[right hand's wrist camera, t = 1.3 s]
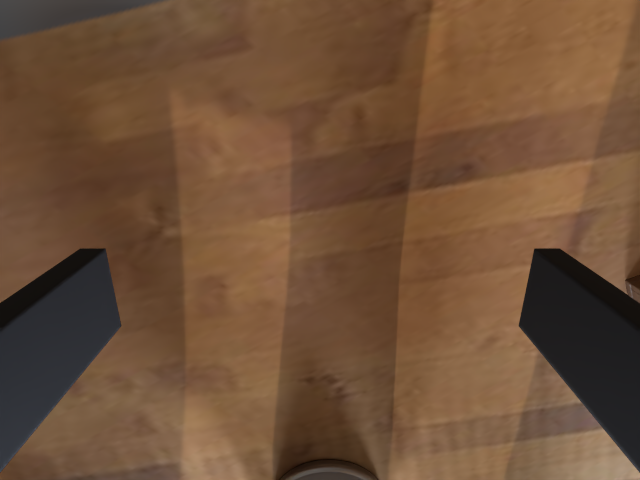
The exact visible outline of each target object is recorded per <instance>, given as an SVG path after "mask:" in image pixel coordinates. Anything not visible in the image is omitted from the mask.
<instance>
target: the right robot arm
mask: <svg viewBox="0 0 640 480" xmlns="http://www.w3.org/2000/svg"><path fill="white" fill-rule="evenodd" d="M120 327H121V322H120V317H119V312H118V308H117V303H116V298H115V293H114V288H113V283H112V278H111V273H110V268H109V263H108V259H107V254H106V249H79V250H78V251H76V252H75V253H73V254H72V255H70V256H69V257H67V258H66V259H64V260H63V261H62V262H60V263H59V264H57V265H56V266H54V267H53V268H51V269H50V270H48V271H47V272H45V273H44V274H42V275H41V276H39V277H38V278H37V279H35V280H34V281H32V282H31V283H29V284H28V285H26V286H25V287H23V288H22V289H20V290H19V291H17V292H16V293H15V294H13V295H12V296H10V297H9V298H7V299H6V300H4V301H3V302H1V303H0V472H1V471H2V470H3V469H4V467H5V466H6V465H7V464H8V463H9V461H10V460H11V459H12V458H13V456H14V455H15V454H16V453H17V452H18V450H19V449H20V448H21V447H22V446H23V444H24V443H25V442H26V441H27V440H28V438H29V437H30V436H31V435H32V433H33V432H34V431H35V430H36V429H37V427H38V426H39V425H40V424H41V423H42V421H43V420H44V419H45V418H46V416H47V415H48V414H49V413H50V412H51V410H52V409H53V408H54V407H55V406H56V404H57V403H58V402H59V401H60V400H61V398H62V397H63V396H64V395H65V393H66V392H67V391H68V390H69V389H70V387H71V386H72V385H73V384H74V383H75V381H76V380H77V379H78V378H79V377H80V375H81V374H82V373H83V372H84V370H85V369H86V368H87V367H88V366H89V364H90V363H91V362H92V361H93V360H94V358H95V357H96V356H97V355H98V354H99V352H100V351H101V350H102V349H103V347H104V346H105V345H106V344H107V343H108V341H109V340H110V339H111V338H112V337H113V335H114V334H115V333H116V332H117V331H118V329H119V328H120ZM519 327H520V328H521V329H522V331H523V332H524V333H525V334H526V335H527V337H528V338H529V339H530V340H531V341H532V343H533V344H534V345H535V346H536V347H537V349H538V350H539V351H540V352H541V354H542V355H543V356H544V357H545V358H546V360H547V361H548V362H549V363H550V364H551V366H552V367H553V368H554V369H555V370H556V372H557V373H558V374H559V375H560V377H561V378H562V379H563V380H564V381H565V383H566V384H567V385H568V386H569V387H570V389H571V390H572V391H573V392H574V393H575V395H576V396H577V397H578V398H579V400H580V401H581V402H582V403H583V404H584V406H585V407H586V408H587V409H588V410H589V412H590V413H591V414H592V415H593V416H594V418H595V419H596V420H597V421H598V423H599V424H600V425H601V426H602V427H603V429H604V430H605V431H606V432H607V433H608V435H609V436H610V437H611V438H612V440H613V441H614V442H615V443H616V444H617V446H618V447H619V448H620V449H621V450H622V452H623V453H624V454H625V455H626V456H627V458H628V459H629V460H630V461H631V463H632V464H633V465H634V466H635V467H636V469H637V470H638V471H639V472H640V303H639V302H637V301H636V300H634V299H633V298H631V297H630V296H628V295H627V294H625V293H624V292H623V291H621V290H620V289H618V288H617V287H615V286H614V285H612V284H611V283H609V282H608V281H606V280H605V279H603V278H602V277H600V276H599V275H598V274H596V273H595V272H593V271H592V270H590V269H589V268H587V267H586V266H584V265H583V264H581V263H580V262H578V261H577V260H576V259H574V258H573V257H571V256H570V255H568V254H567V253H565V252H564V251H562V250H561V249H534V254H533V259H532V263H531V268H530V273H529V278H528V283H527V288H526V293H525V298H524V303H523V308H522V312H521V317H520V322H519ZM280 480H378V479H377V478H376V477H375V476H374V475H373V474H371V473H370V472H369V471H367V470H366V469H364V468H362V467H360V466H358V465H355V464H353V463H349V462H345V461H339V460H319V461H313V462H309V463H305V464H302V465H300V466H298V467H296V468H294V469H292V470H290V471H289V472H288V473H286V474H285V475H284V476H283V477H282V478H281V479H280Z"/></svg>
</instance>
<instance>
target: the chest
mask: <svg viewBox="0 0 640 480" xmlns="http://www.w3.org/2000/svg"><path fill="white" fill-rule="evenodd" d="M625 282H626V287H627V292H628V296H630V297H631V298H633V299H634V300H636V301H637V302H639V303H640V275H639V276H636V277H633V278H630V279H627V280H625Z"/></svg>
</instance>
